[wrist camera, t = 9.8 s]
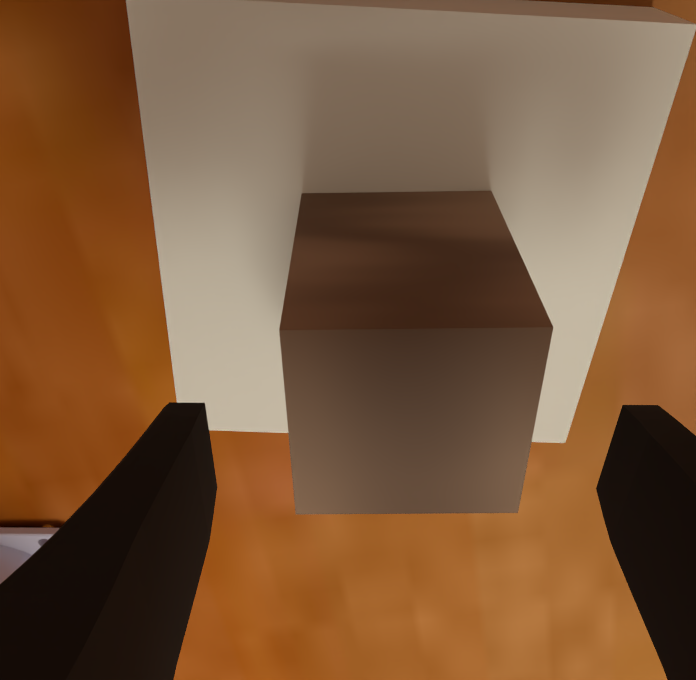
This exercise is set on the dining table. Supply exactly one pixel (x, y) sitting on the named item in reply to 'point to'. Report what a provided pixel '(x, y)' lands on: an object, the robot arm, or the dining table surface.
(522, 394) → the walnut block
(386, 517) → the dining table surface
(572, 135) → the base block
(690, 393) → the dining table surface
